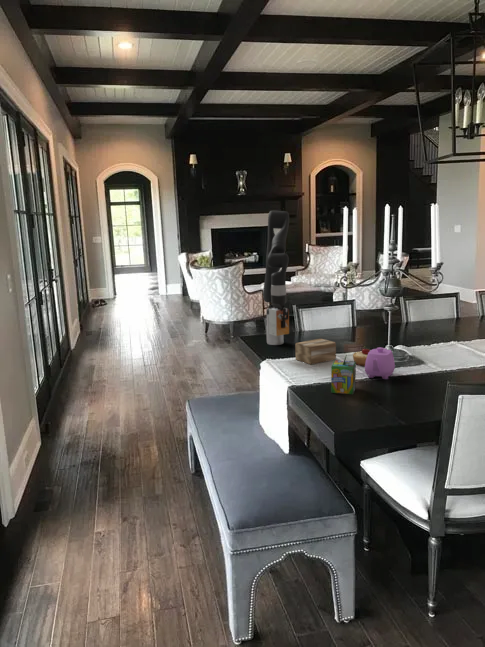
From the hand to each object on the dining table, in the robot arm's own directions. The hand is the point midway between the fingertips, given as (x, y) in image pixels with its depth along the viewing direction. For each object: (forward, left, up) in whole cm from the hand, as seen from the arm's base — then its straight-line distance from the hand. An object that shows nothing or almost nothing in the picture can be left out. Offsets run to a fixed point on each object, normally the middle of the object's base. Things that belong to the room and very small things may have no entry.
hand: (279, 326), depth 265 cm
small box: (0, 0, -4) cm, 4 cm away
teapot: (+51, +18, -17) cm, 57 cm away
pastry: (+33, +27, -17) cm, 46 cm away
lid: (+12, +13, -9) cm, 20 cm away
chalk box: (+57, -8, -17) cm, 60 cm away
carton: (+12, +13, -17) cm, 25 cm away
